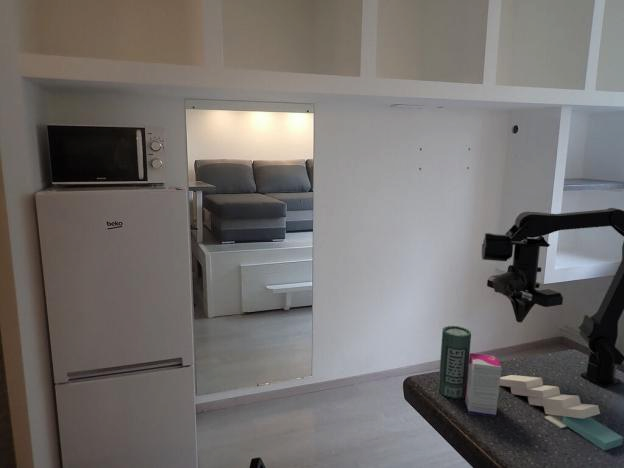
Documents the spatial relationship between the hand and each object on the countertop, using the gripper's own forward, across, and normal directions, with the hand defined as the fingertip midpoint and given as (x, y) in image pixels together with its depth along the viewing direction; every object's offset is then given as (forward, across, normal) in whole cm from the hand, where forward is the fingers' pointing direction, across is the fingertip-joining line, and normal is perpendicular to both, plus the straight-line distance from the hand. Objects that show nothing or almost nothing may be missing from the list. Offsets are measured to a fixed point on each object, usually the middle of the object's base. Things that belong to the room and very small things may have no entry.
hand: (519, 321), depth 114 cm
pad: (+13, +21, -8) cm, 26 cm away
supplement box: (+13, +11, -22) cm, 28 cm away
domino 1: (+12, +4, -8) cm, 15 cm away
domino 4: (+12, +18, -8) cm, 23 cm away
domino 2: (+12, +9, -8) cm, 17 cm away
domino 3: (+12, +14, -8) cm, 20 cm away
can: (+13, +3, -23) cm, 27 cm away
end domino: (+12, +22, -8) cm, 26 cm away
